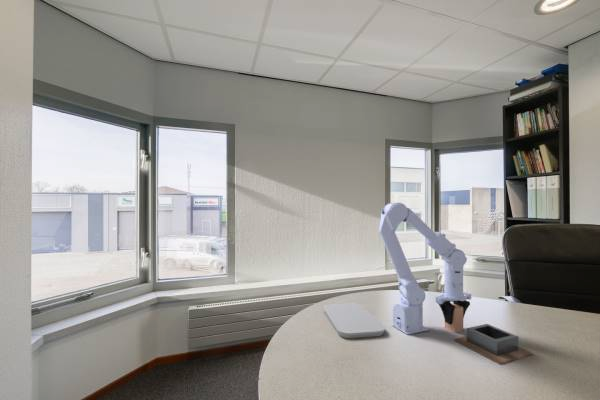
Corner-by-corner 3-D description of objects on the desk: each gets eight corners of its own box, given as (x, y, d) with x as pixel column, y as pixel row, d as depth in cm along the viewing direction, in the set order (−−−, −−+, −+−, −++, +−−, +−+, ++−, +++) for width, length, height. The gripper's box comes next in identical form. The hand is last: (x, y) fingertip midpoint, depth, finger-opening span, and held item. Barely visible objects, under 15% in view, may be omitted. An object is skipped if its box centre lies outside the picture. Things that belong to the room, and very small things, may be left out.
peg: (454, 332, 93) (454, 308, 93) (444, 327, 96) (444, 304, 97) (463, 330, 94) (463, 307, 94) (453, 325, 98) (453, 303, 98)
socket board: (500, 364, 74) (499, 347, 74) (454, 340, 87) (454, 326, 87) (533, 354, 79) (532, 338, 79) (485, 333, 92) (484, 319, 92)
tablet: (359, 308, 116) (359, 302, 116) (388, 337, 90) (388, 330, 90) (321, 310, 113) (321, 304, 113) (340, 341, 87) (340, 333, 87)
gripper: (448, 287, 89) (448, 330, 89) (479, 283, 94) (479, 323, 94) (430, 282, 96) (430, 321, 96) (460, 278, 101) (461, 315, 101)
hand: (453, 322), depth 95 cm, fingers open, 4 cm apart
